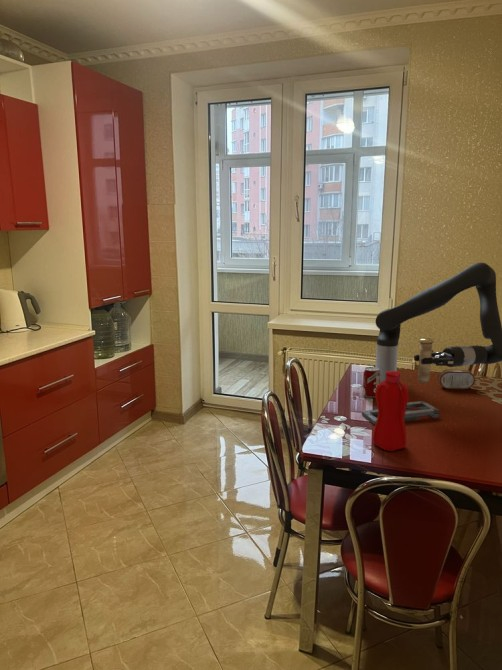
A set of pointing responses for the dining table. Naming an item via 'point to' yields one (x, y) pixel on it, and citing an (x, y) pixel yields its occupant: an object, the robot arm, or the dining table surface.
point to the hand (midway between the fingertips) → (418, 359)
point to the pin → (424, 353)
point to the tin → (456, 379)
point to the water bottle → (391, 413)
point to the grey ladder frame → (408, 412)
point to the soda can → (370, 381)
